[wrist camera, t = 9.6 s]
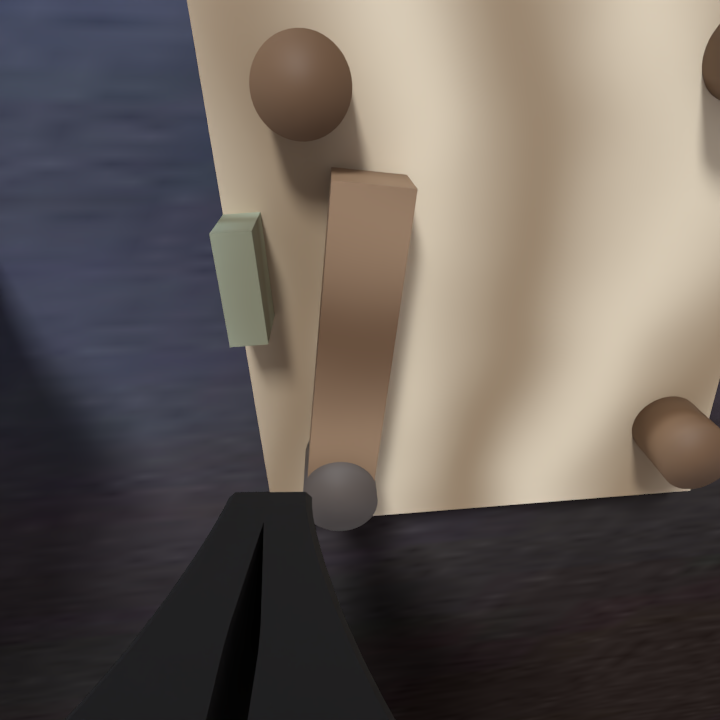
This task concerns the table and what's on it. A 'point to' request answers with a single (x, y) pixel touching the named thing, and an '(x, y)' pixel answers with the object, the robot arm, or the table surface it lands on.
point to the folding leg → (356, 340)
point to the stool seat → (484, 233)
